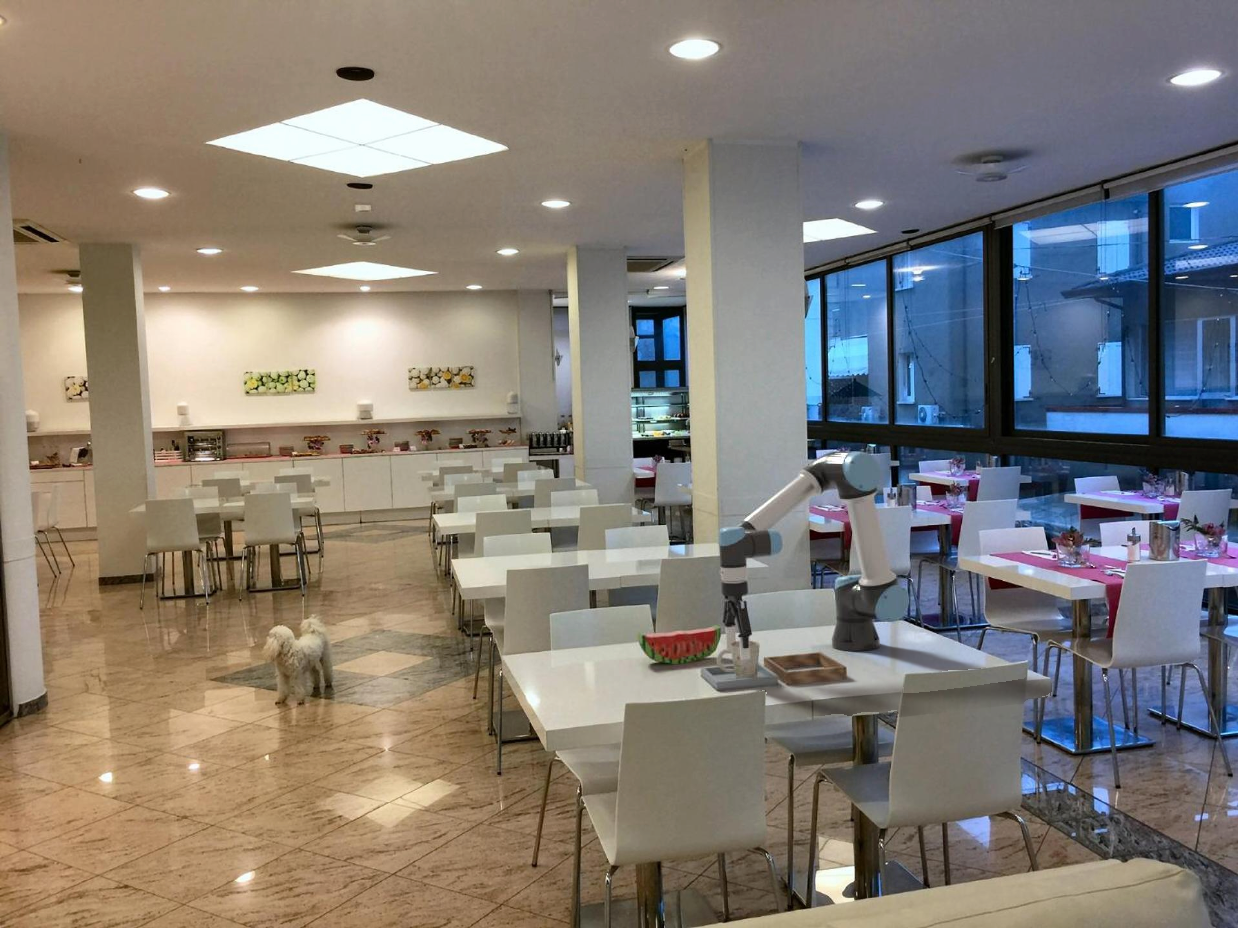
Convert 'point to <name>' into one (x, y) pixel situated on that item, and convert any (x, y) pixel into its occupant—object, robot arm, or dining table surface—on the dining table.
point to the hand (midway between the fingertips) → (738, 653)
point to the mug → (741, 667)
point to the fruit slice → (680, 645)
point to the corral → (828, 673)
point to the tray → (728, 679)
